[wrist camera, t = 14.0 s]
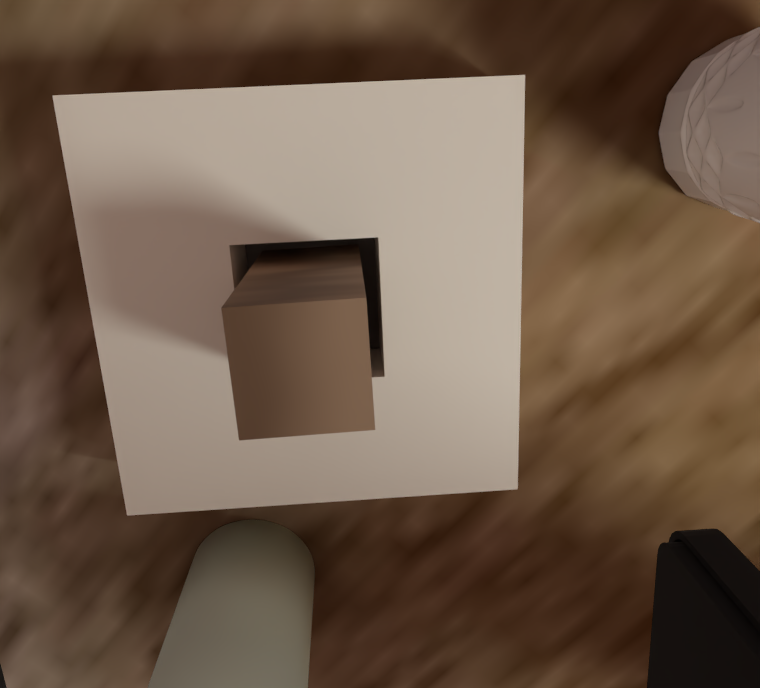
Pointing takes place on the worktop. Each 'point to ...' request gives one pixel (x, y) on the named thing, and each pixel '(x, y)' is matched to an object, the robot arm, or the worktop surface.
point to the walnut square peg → (300, 344)
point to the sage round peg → (242, 612)
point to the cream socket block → (301, 230)
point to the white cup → (717, 127)
